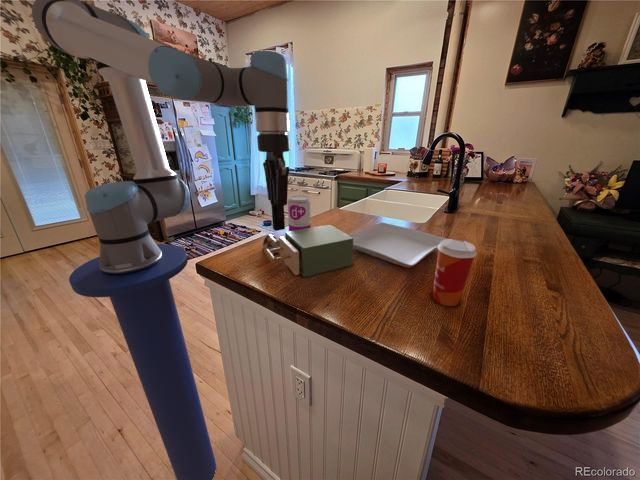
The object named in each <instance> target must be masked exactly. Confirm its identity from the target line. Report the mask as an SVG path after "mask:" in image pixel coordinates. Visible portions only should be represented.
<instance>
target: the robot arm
mask: <svg viewBox="0 0 640 480" xmlns="http://www.w3.org/2000/svg"><path fill="white" fill-rule="evenodd" d="M31 17H32V20H33V23H34V25H35V28H36V29H37V30H38V32H39V33H40V35H41V36H42V37H43V38H44V39H45V40H46V41H47V42H48V43H49V44H50V45H52V46H53V47H54V48H56V49H57V50H59V51H61V52H62V53H65V54H67V55H70V56H73V57H77V58H80V59H84V60H88V61H91V62H94V64H95V66H96V70H97V72H98V74H99V76H101V77H103V78H104V79H106V81H107V82H108V84H109V88H110V91H111V94H112V97H113V100H114V104H115V107H116V110H117V113H118V116H119V119H120V122H121V125H122V128H123V133H124V134H125V135H124V136H125V138H126V142H127V144H128V147H129V150H130V153H131V156H132V159H133V163H134V166H135V169H136V173H135V175H134V176H133V181H131V180H120V181H114V182H108V183H103V184H100V185H97V186H94V187H92V188H90V189H88V190H87V191H86V192H85V193H84V199H85V205H86V210H87V212H88V213H89V217H90V219H91V221H92V225H93V227H94V230H95V233H96V236H97V238H98V239H97V240H98V241H99V244H100V245H99V248H100V249H99V256H100V258H99V267H100V270H101V272H102V273H103V274H105V275H111V276H119V275H128V274H133V273H137V272H140V271H143V270H146V269H149V268H151V267H153V266H155V265H156V264H158V263H159V262H160V261H161V260H162V258H163V256H162V252H161V250H160V249H159V247H158V246H157V245H156V244H157V243H156V242H155V240H154V239H153V237H152V236H151V234H150V231H149V228H148V224H152V223H156V222H158V221H162V220H165V219H168V218H173V217H176V216H178V215H180V214H183V213H185V212H186V211H187V209H188V207H189V206H190V203H191V192H190V189H189V187H188V185H187V184H186V183H185V182H184V180H182V179H180V178H178V176H177V173H176V171H175V172H174V171H173V170H172V169H171V168H170V166H169V162H168V159H167V155H166V152H165V148H164V145H163V144H164V143H163V141H162V137H161V133H160V130H159V127H158V123H157V119H156V115H155V112H154V109H153V104H152V100H151V97H150V94H149V91H148V86H147V83H149V84H151V85H154V87H156V89H157V90H158V91H159V92H160V93H161V94H163V95H165V96H167V97H171V98H174V99H178V100H182V101H185V100H187V101H188V100H189V101H196V102H202V103H203V102H204V103H209V104H213V105H214V106H216V107H219V108H229V109H230V108H233V107H249V106H252V107H254V119H255V131H256V132H257V133H258V134H257V135H256V141H257V150H258V151H259V152H262V153H265V159H264V162H263V163H262V166H263V170H264V175H265V183H266V193H267V199H268V201H269V203H270V206H271V218H272V219H271V220H272V229H273V230H274V231H275V232H276V231H283V230H286V223H285V222H286V221H285V206H288V193H289V192H288V189H289V174H290V167H289V166H286V160H285V156H284V155H285V154H284V153H287V152H290V150H291V138H290V134H287V133H289V132H290V123H291V118H290V114H289V89H288V87H289V86H288V85H289V84H288V83H289V82H288V81H289V78H288V68H287V67H288V66H287V60H286V57H284V55H283V54H281V53H279V52H277V51H273V50H257V51H255V52H253V53H251V55H250V62H249V64H250V65H248V66H245V67H229V66H226V65H223V64H221V63H220V64H219V63H217V62H213V61H211V60H207V59H204V58H202V57H199V56H196V55H193V54H190V53H187V52H185V51H182V50H180V49H177V48H175V47H172V46H169V45H167V44H164V43H161V42H158V41H156V40H154V39H151V38H149V37H148V35H147V33H146V32H145V30H144V29H143V28H142V27H140V25H138V24H137V23H136V22H135V21H133V20H130V19H129V18H126V17H125V16H123V15H121V14H118V13H114V12H111V11H108V10H106V9H103V8H100V7H99V6H95V5H92V4H90V3H87V2H85V1H81V0H34V2H33V3H32V7H31Z"/></svg>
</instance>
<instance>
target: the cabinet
mask: <svg viewBox="0 0 640 480" xmlns="http://www.w3.org/2000/svg"><path fill="white" fill-rule="evenodd" d="M348 235H349V234H346V233H345V232H343V231H341V230H340V229H338V228H336V227H335V226H333V225H331V224H326V225H318V226H311V228H306V229H300V230H294V231H289V230H288V231H285V232H284V238H285V239H286V240H287V241H288V237H289V238H290V239H291V240H292V241H293V242H294V243H295V244H296V245H297V246H298V247H299V248H300V249H302V267H303V271H302V270H301V268H300V267H299V274H300V275H301V276H302V277H303V278H307V277H311V276H314V275H319V274H322V273H326V272H329V271H333V270H338V269H342V268H346V267H350V266H352V265H353V250H354V249H353V238H352V237H350V236H348Z"/></svg>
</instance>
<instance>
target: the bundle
mask: <svg viewBox="0 0 640 480" xmlns="http://www.w3.org/2000/svg"><path fill="white" fill-rule="evenodd" d="M262 247H263V248H264V250H265V249H275V248H280V246H279V239H277V237H276V236H275V235H274V234H273V235H272V234H266V235H265V237H264V239H263V241H262ZM271 253H272V255H273V256H274V254H279V255H280V250H278V251H273V252H271Z"/></svg>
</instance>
